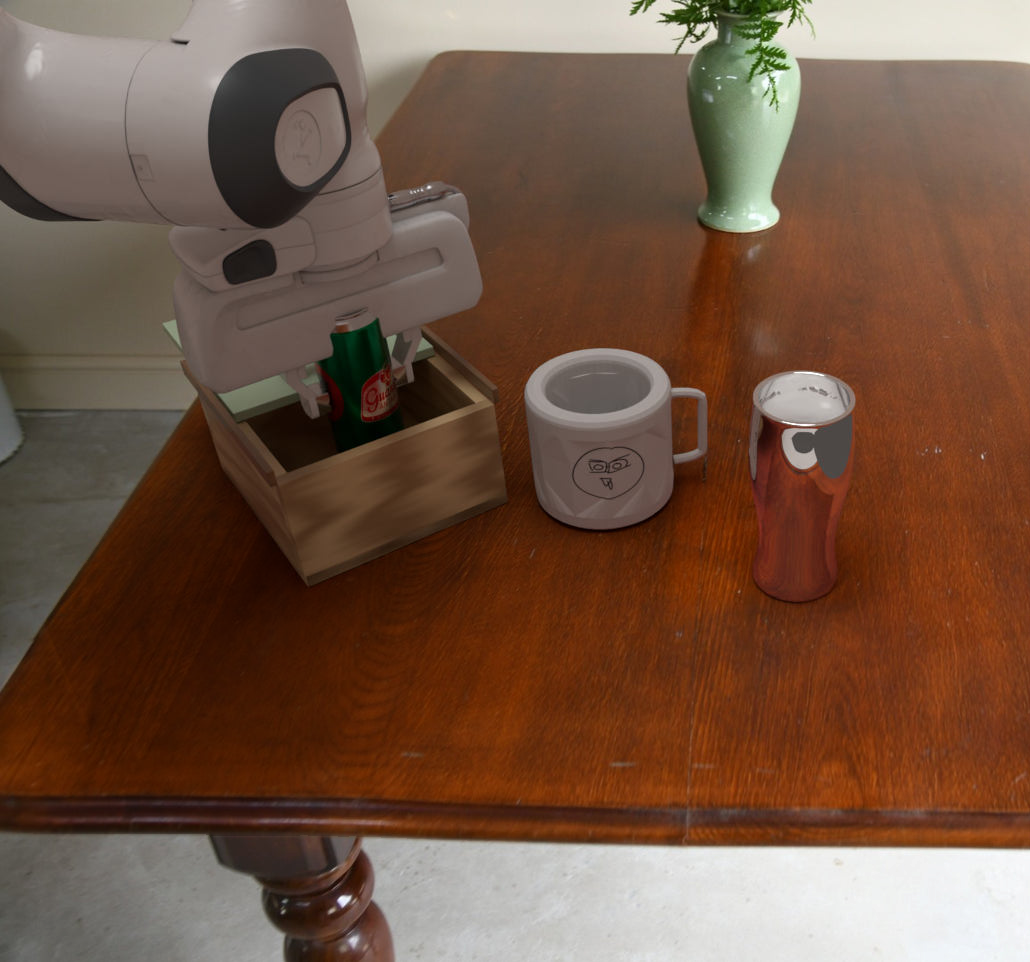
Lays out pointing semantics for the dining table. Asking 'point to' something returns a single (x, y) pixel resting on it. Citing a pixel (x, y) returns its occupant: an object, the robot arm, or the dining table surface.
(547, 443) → the mug
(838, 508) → the beer glass
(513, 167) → the dining table surface
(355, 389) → the soda can
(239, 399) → the slide lid
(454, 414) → the box
